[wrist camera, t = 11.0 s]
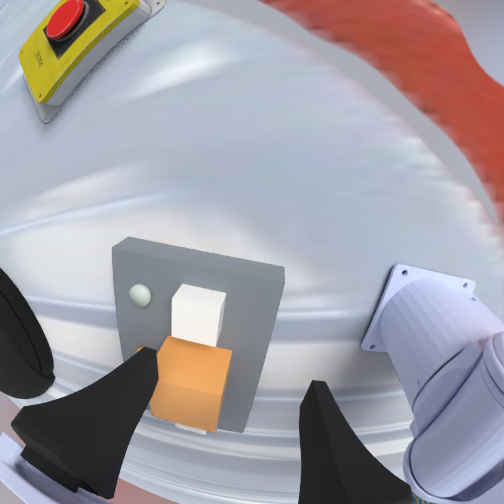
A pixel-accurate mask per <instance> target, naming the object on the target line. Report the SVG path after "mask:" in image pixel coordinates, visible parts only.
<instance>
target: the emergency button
mask: <svg viewBox="0 0 504 504" xmlns="http://www.w3.org/2000/svg"><path fill="white" fill-rule="evenodd" d="M166 2H167V1H166V0H61V1H60V2H59V3H58V4H57V5H56V6H55V7H54V8H53V9H52V10H51V11H50V13H49V14H48V15H47V16H46V17H45V18H44V19H43V21H42V22H41V23H40V24H39V25H38V27H37V28H36V29H35V30H34V32H33V33H32V34H31V36H30V37H29V38H28V40H27V41H26V42H25V44H24V45H23V46H22V48H21V50H20V52H19V60H20V63H21V66H22V69H23V71H24V73H23V78H24V80H25V83H26V85H27V88H28V90H29V93H30V95H31V97H32V100H33V102H34V104H35V107H36V109H37V111H38V113H39V116H40V118H41V120H42V121H43V122H44V123H49V122H50V121H51V120H52V119H53V118H54V116H55V115H56V114H57V112H58V111H59V110H60V108H61V107H62V106H63V104H64V103H65V102H66V100H67V99H68V98H69V97H70V96H71V94H72V93H73V92H74V91H75V89H76V88H77V87H78V86H79V85H80V84H81V83H82V81H83V80H84V79H85V78H86V77H87V76H88V75H89V74H90V73H91V71H92V70H93V69H94V68H95V67H96V66H97V65H98V64H99V63H100V62H101V61H102V60H103V59H104V58H105V57H106V56H107V55H108V54H109V53H110V52H111V51H112V50H113V49H114V48H116V47H117V46H118V45H119V44H120V43H121V42H122V41H123V40H124V39H125V38H127V37H128V36H129V35H130V34H131V33H132V32H134V31H135V30H136V29H137V28H138V27H140V26H141V25H142V24H143V23H145V22H146V21H147V20H149V19H150V18H151V17H152V16H154V15H155V14H157V13H158V12H159V11H160V10H161V9H162V8H163V7H164V6H165V4H166Z"/></svg>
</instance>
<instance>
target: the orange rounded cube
mask: <svg viewBox="0 0 504 504" xmlns="http://www.w3.org/2000/svg"><path fill="white" fill-rule="evenodd" d="M231 355H232V350H227V349H223V348H218V347H213V346H209V345H204V344H200V343H196V342H192V341H187V340H183V339H180V338H176V337H172V336H167V338H166V340H165V341H164V343H163V345H162V347H161V349H160V350H159V352H158V354H157V363H158V374H159V380H158V383H157V385H156V388H155V391H154V393H153V396H152V398H151V400H150V407H151V412H152V416H154V417H158V418H161V419H164V420H167V421H171V422H174V423H178V424H181V425H185V426H189V427H193V428H197V429H201V430H205V431H209V432H214V433H216V429H217V425H218V421H219V417H220V412H221V408H222V404H223V399H224V395H225V390H226V384H227V379H228V373H229V367H230V361H231Z"/></svg>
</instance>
